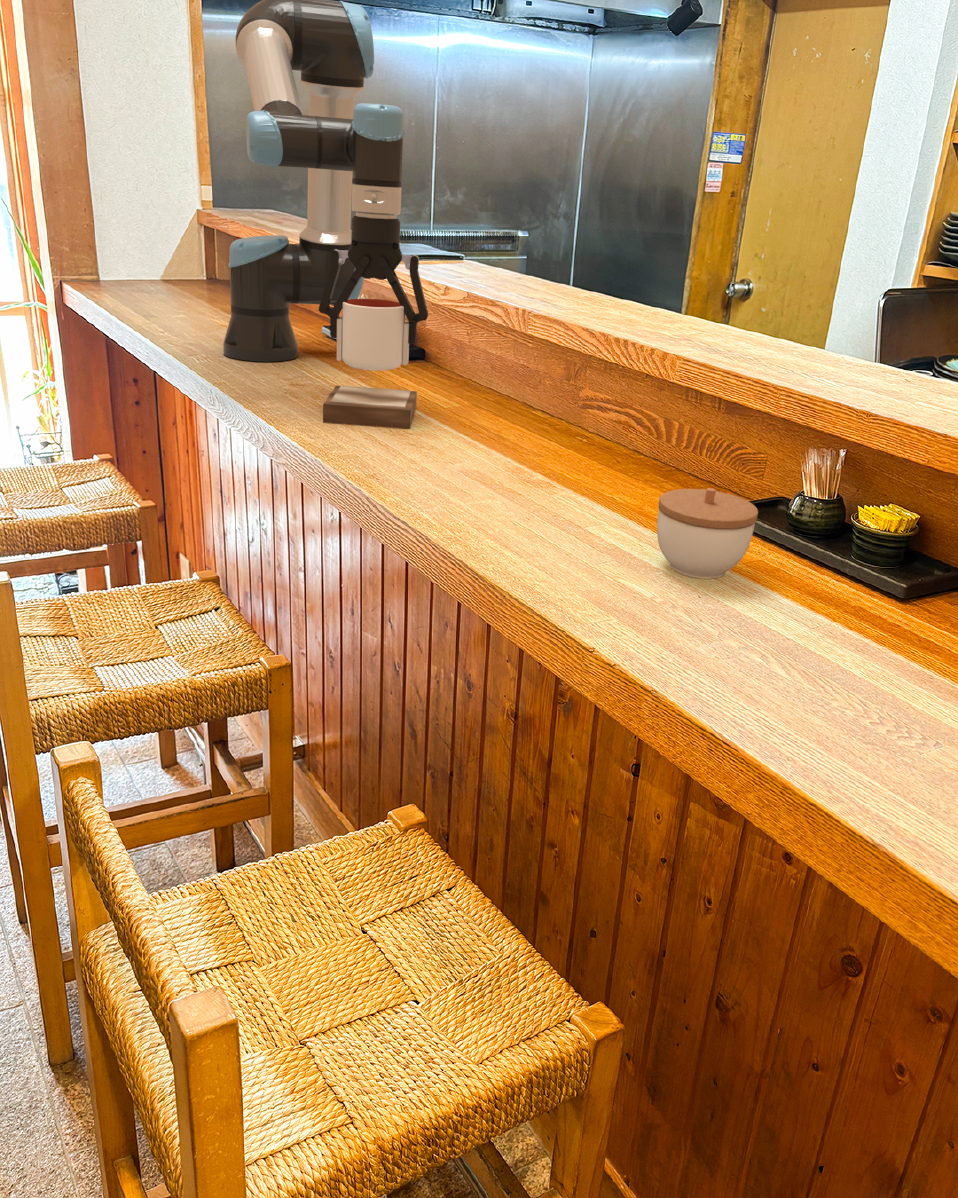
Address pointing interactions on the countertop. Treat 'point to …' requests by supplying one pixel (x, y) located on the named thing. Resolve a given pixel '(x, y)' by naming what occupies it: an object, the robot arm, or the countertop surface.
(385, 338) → the cup
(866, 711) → the countertop surface
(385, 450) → the countertop surface
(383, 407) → the stand
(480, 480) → the countertop surface
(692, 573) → the lidded jar
